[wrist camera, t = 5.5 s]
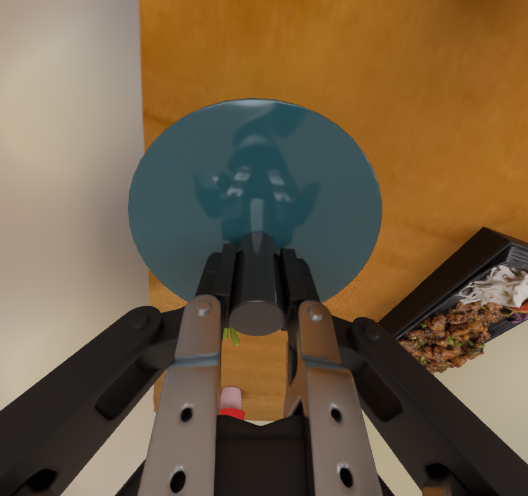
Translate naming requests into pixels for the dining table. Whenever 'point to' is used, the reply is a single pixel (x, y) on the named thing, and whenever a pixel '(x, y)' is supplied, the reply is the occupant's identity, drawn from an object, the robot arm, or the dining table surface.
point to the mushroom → (231, 402)
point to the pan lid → (255, 203)
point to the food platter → (464, 302)
